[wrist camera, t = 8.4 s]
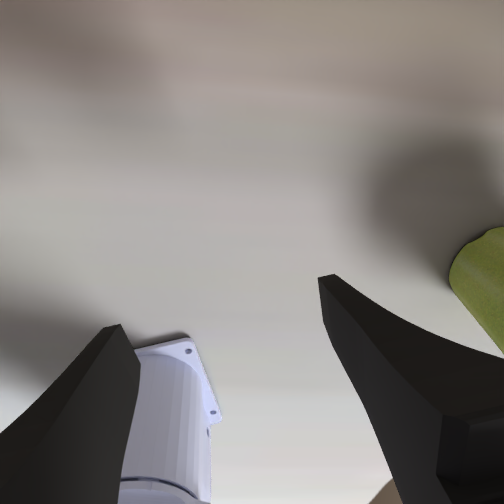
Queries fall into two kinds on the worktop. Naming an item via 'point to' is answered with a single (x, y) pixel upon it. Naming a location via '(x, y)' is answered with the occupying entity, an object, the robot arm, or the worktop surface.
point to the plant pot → (482, 282)
